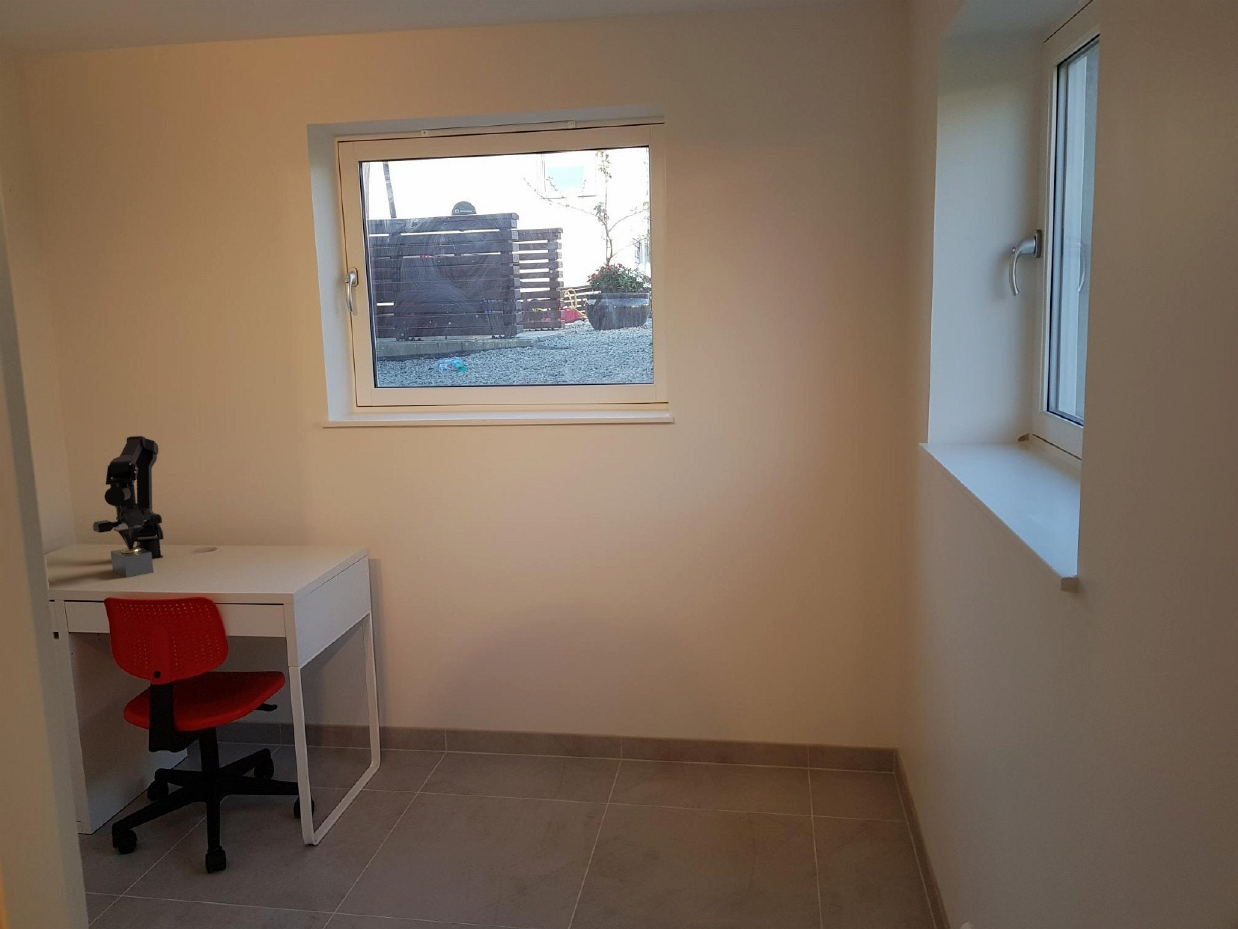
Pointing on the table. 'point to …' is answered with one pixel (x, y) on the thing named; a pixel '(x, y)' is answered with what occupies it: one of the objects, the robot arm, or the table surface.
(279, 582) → the table surface
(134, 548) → the bushing
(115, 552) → the jig
